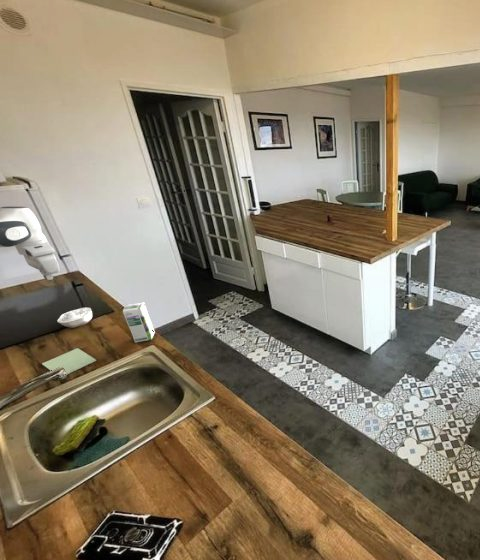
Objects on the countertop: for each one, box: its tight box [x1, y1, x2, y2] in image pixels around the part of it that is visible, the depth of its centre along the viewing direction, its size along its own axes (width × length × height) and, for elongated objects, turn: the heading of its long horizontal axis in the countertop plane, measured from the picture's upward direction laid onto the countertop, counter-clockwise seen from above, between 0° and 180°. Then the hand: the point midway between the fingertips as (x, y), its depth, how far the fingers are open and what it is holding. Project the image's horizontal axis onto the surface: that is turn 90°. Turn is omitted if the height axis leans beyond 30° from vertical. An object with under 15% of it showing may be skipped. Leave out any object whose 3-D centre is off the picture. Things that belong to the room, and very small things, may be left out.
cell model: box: [56, 307, 93, 329], centre depth 130 cm, size 10×12×7 cm
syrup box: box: [122, 301, 156, 344], centre depth 121 cm, size 6×6×14 cm
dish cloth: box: [41, 347, 97, 379], centre depth 110 cm, size 10×14×1 cm
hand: (49, 278), depth 127 cm, fingers closed
